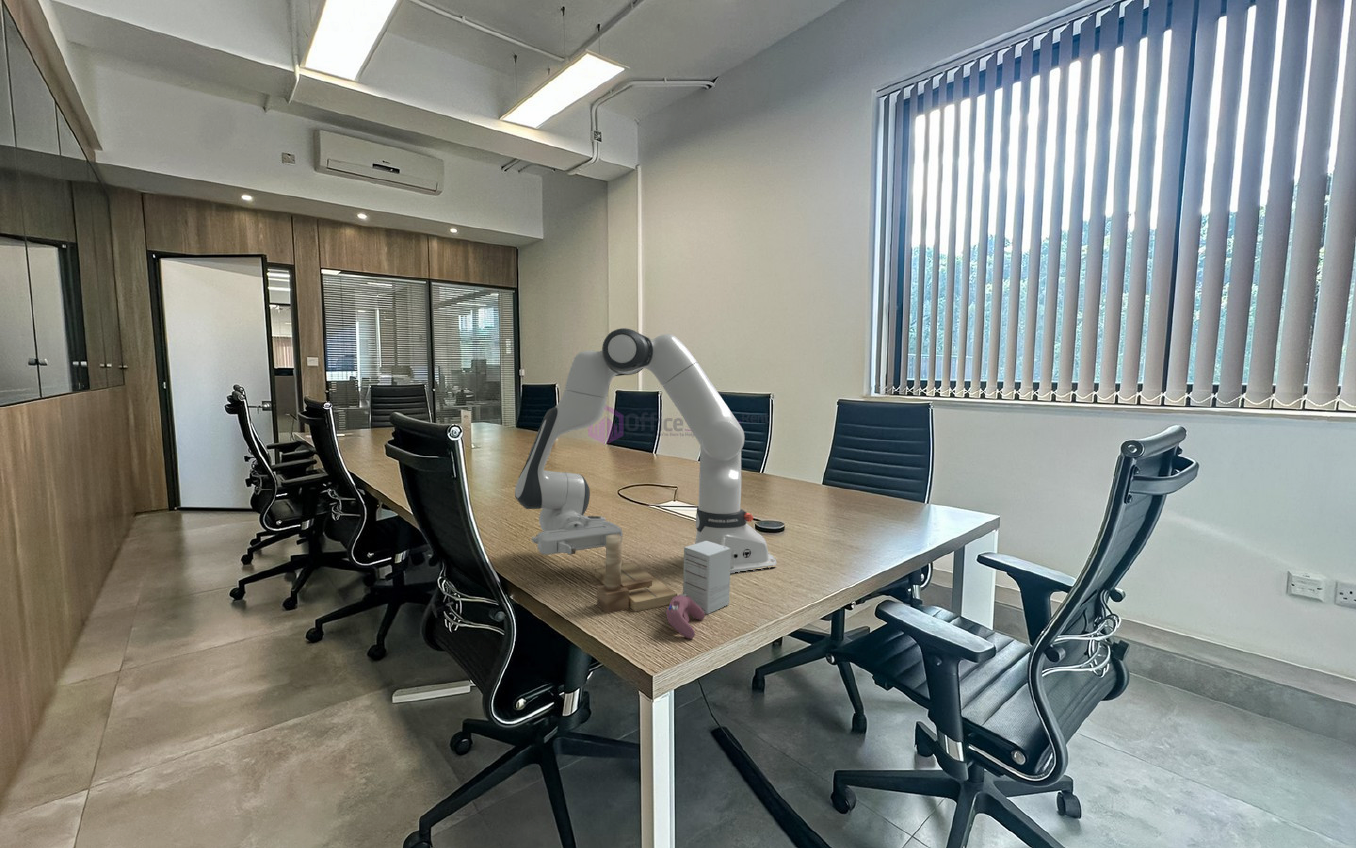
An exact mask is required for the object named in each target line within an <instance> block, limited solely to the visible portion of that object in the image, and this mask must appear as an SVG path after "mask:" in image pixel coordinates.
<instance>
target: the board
mask: <svg viewBox="0 0 1356 848" xmlns="http://www.w3.org/2000/svg"><path fill="white" fill-rule="evenodd" d="M594 577H595V578H596V579H597V580H598V581H599V582H600V583H601V584H602V585H605V580H606V566H604V567H598V568H594ZM647 578H649V579H650V580H652V586H650V587H649V588H647V587H644V588H639V589H634V590H629V608H630V609H631V610H633V611H634V612H635V613H637V612H641V611H645V610H650V609H655V608H660V607H664V606H668V605H670V602H671V600H672V599H673V598H674V597H675V596H678V593H677V592H676V591H674V589H671V588H670V587H669V586H667V585H666V584H665V583H663V582H661V581H660V580H659V579H657V578H656V577H654V576H653V575H651V574H650V573H648V572H647V571H646V570H644V569H643V568H641V567H639V566H638V565H637V564H636V563H634V562H628V563H621V583H625V582H631V581H636V580H642V579H647Z"/></svg>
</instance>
